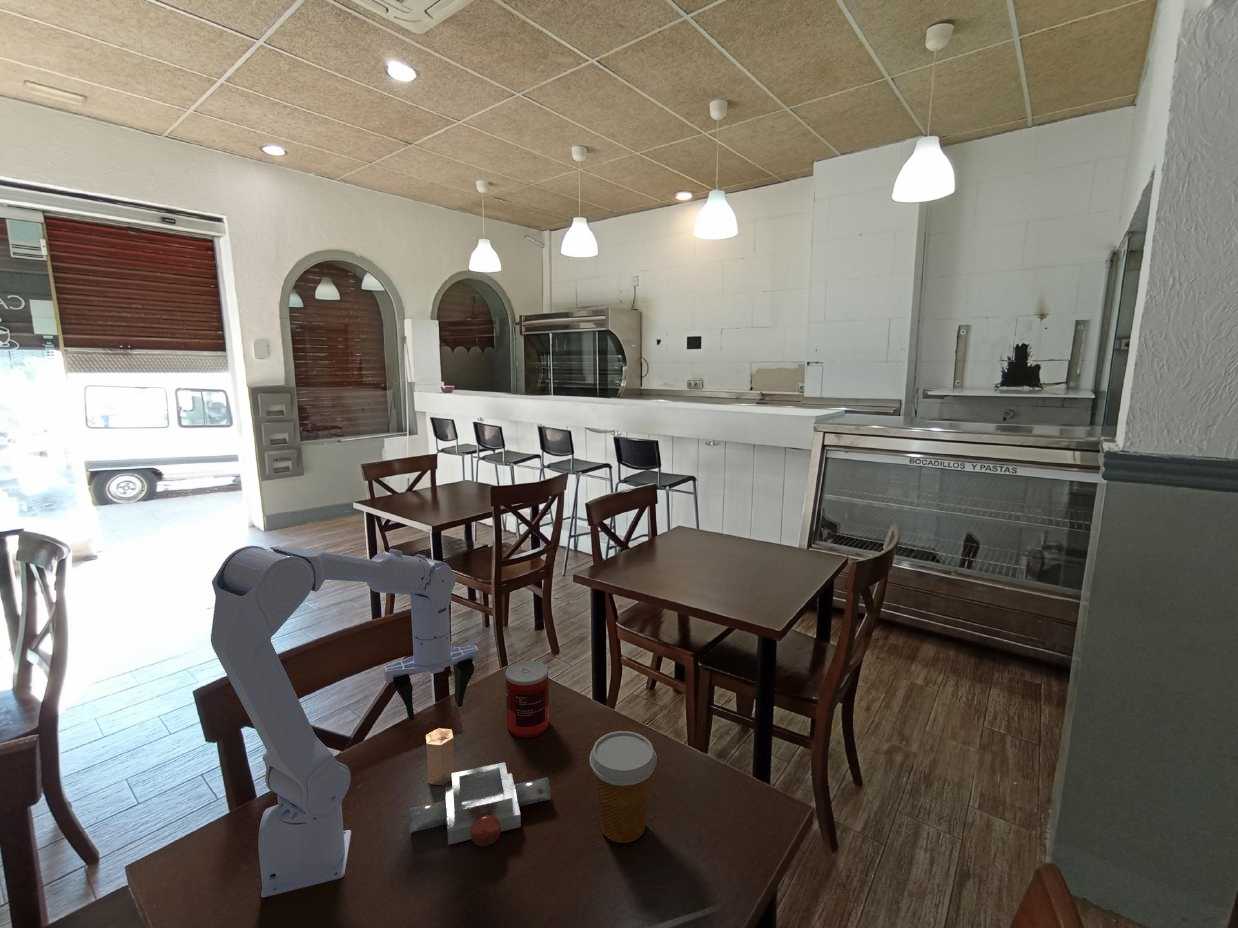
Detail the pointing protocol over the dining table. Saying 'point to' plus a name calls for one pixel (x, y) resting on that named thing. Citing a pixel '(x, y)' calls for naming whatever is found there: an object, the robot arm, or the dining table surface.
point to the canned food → (527, 698)
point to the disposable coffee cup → (623, 783)
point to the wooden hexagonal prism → (440, 756)
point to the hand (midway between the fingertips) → (435, 710)
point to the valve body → (480, 805)
